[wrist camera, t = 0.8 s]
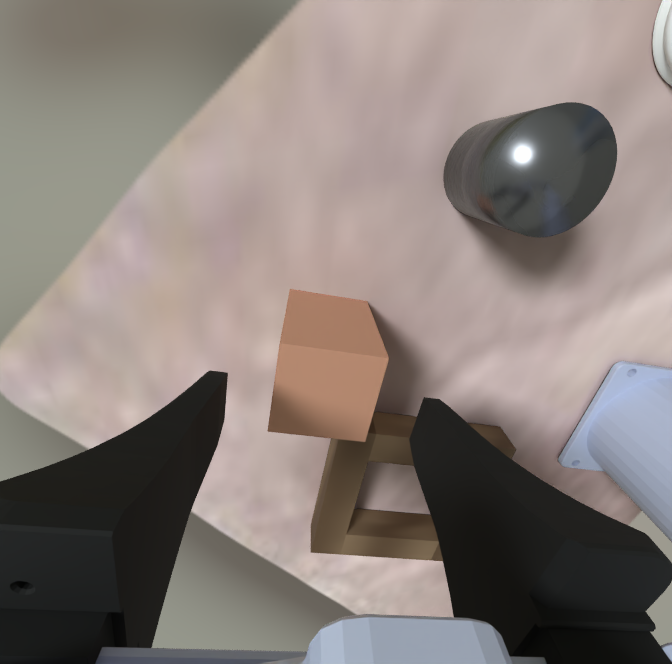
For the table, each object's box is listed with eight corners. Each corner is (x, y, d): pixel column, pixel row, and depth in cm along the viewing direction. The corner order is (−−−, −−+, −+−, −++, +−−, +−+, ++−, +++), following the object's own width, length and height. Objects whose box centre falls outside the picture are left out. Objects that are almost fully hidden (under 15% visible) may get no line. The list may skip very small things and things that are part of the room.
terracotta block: (367, 301, 19) (389, 358, 13) (351, 367, 20) (365, 442, 15) (289, 288, 18) (279, 342, 13) (280, 357, 20) (267, 431, 14)
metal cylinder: (546, 131, 16) (641, 118, 11) (510, 224, 17) (580, 246, 13) (460, 110, 15) (523, 88, 11) (432, 208, 17) (476, 225, 12)
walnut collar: (499, 426, 23) (516, 449, 21) (448, 535, 27) (457, 562, 25) (338, 407, 21) (340, 430, 19) (311, 524, 26) (310, 552, 24)
